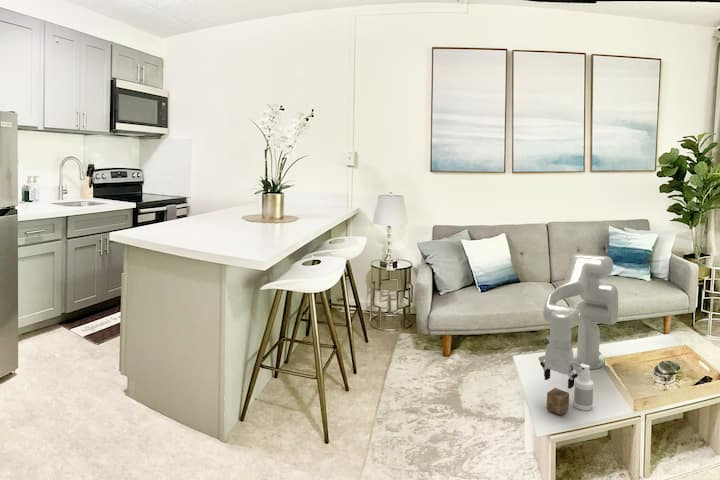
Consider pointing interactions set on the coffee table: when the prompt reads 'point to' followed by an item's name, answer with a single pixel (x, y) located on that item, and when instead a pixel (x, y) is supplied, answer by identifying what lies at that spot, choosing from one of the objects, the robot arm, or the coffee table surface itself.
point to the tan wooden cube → (558, 401)
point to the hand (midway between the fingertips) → (558, 383)
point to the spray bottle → (583, 389)
